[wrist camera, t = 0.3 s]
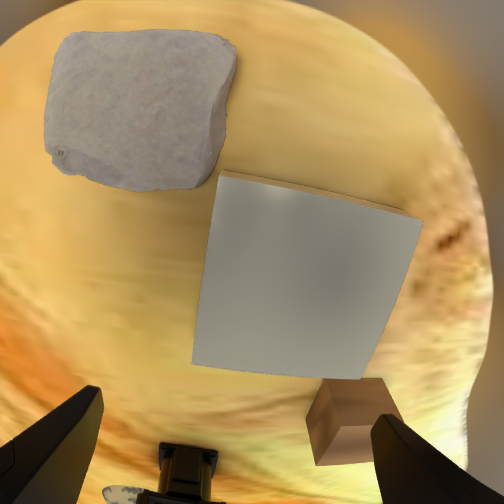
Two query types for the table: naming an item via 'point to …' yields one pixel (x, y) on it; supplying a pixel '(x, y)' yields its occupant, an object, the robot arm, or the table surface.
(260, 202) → the tile
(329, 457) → the cube
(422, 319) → the table surface
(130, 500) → the decorative bowl
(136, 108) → the stone block
